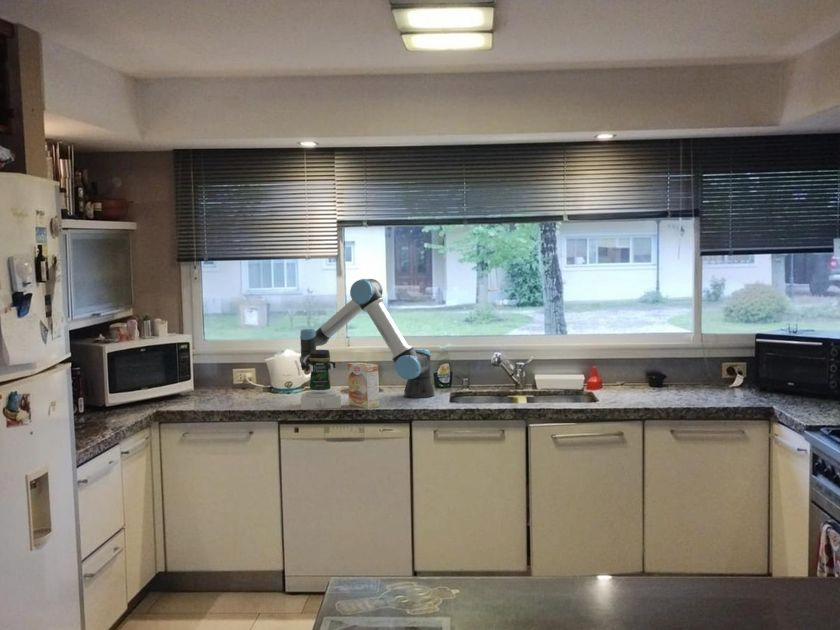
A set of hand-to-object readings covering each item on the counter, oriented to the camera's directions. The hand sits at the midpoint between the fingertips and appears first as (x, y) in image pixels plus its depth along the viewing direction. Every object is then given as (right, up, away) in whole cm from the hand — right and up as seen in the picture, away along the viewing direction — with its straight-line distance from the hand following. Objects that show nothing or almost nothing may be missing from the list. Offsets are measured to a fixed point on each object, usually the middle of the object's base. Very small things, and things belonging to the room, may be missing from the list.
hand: (322, 368), depth 350 cm
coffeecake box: (+19, -18, +4) cm, 26 cm away
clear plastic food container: (-1, -18, +5) cm, 19 cm away
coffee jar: (-1, -10, +5) cm, 12 cm away
